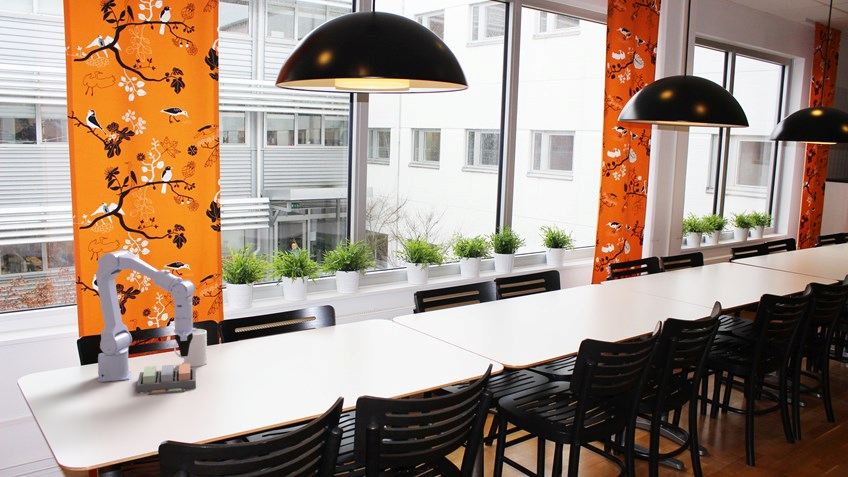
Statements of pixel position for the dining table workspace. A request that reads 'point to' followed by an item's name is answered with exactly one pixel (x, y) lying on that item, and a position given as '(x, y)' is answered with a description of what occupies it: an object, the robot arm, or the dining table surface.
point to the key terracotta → (184, 372)
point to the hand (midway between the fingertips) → (184, 355)
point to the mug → (196, 349)
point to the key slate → (167, 373)
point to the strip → (166, 391)
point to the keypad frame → (166, 385)
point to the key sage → (149, 375)
